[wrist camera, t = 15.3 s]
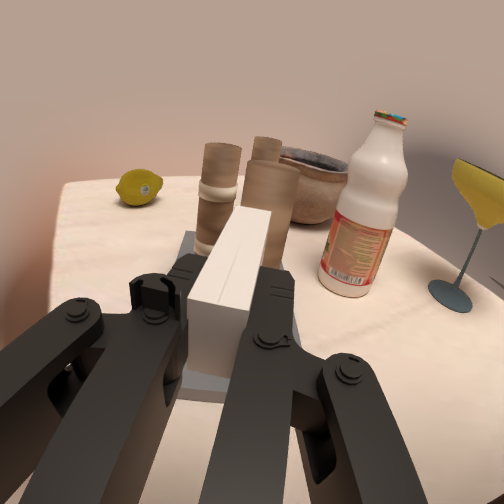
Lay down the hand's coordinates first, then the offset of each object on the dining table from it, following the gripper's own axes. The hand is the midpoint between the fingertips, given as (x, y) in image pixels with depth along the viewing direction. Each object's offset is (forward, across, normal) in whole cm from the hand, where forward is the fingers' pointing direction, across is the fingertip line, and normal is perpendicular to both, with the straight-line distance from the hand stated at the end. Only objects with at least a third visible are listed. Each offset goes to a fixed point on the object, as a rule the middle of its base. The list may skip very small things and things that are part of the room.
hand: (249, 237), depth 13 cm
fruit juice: (+32, +14, -21) cm, 40 cm away
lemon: (+47, -29, -20) cm, 59 cm away
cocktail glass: (+34, +38, -21) cm, 55 cm away
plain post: (+10, 0, -18) cm, 21 cm away
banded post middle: (+21, -6, -18) cm, 28 cm away
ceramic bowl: (+58, +6, -21) cm, 62 cm away
